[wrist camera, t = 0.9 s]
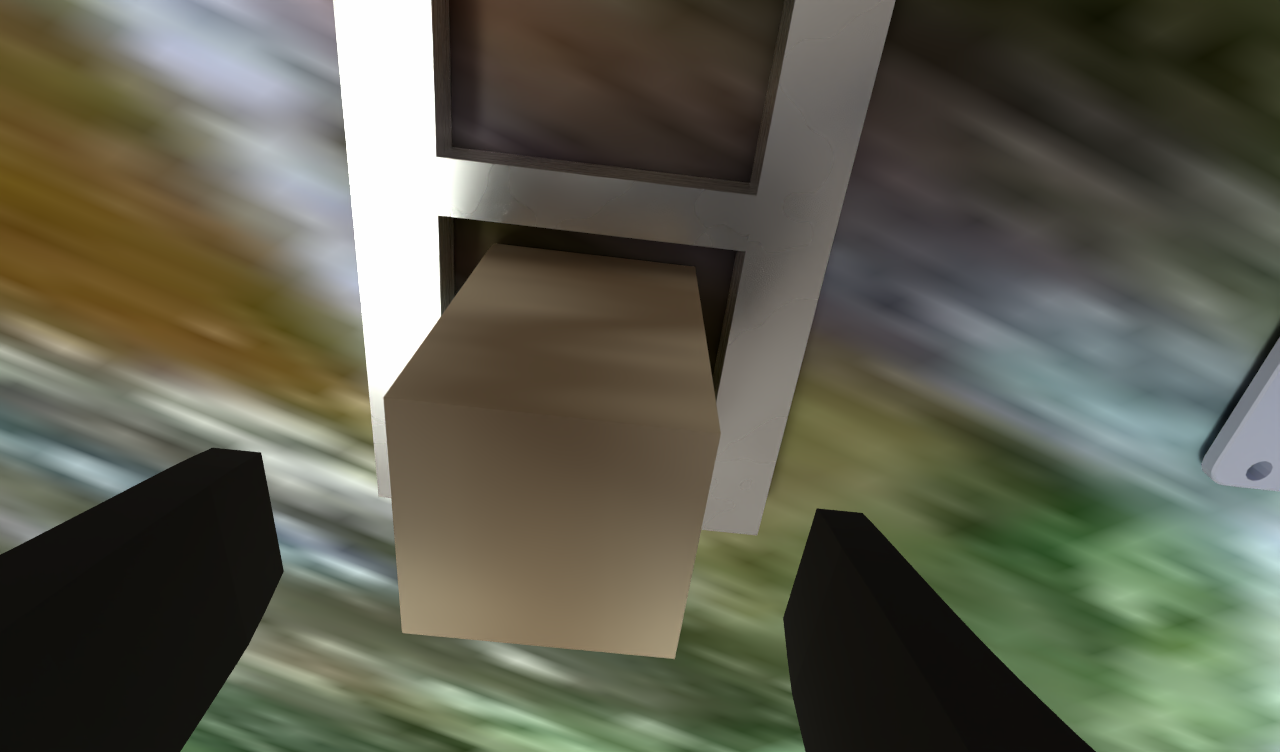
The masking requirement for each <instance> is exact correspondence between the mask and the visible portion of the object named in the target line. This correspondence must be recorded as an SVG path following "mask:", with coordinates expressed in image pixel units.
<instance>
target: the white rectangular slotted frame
mask: <svg viewBox="0 0 1280 752" xmlns="http://www.w3.org/2000/svg"><path fill="white" fill-rule="evenodd" d="M895 1H896V0H784V4H783V9H782V14H781V20H780V25H779V30H778V35H777V41H776V46H775V51H774V57H773V62H772V67H771V72H770V78H769V83H768V88H767V94H766V99H765V104H764V109H763V115H762V120H761V125H760V131H759V136H758V141H757V146H756V152H755V157H754V162H753V168H752V173H751V178H750V183H746V182H738V181H730V180H722V179H713V178H705V177H697V176H689V175H681V174H672V173H664V172H656V171H648V170H639V169H631V168H623V167H615V166H606V165H598V164H590V163H582V162H573V161H565V160H557V159H549V158H540V157H532V156H524V155H516V154H508V153H499V152H491V151H483V150H475V149H466V148H458V147H452V128H451V77H450V26H449V0H333V4H334V15H335V25H336V36H337V47H338V58H339V69H340V80H341V91H342V102H343V113H344V123H345V134H346V145H347V156H348V167H349V178H350V189H351V200H352V211H353V221H354V232H355V243H356V254H357V265H358V276H359V287H360V298H361V309H362V319H363V330H364V341H365V352H366V363H367V374H368V385H369V396H370V407H371V417H372V428H373V439H374V450H375V461H376V472H377V483H378V494H379V497H387V498H391V487H390V474H389V462H388V449H387V437H386V425H385V412H384V400H383V397H384V396H385V394H386V393H387V391H388V390H389V389H390V387H391V386H392V384H393V383H394V382H395V380H396V379H397V377H398V376H399V375H400V373H401V372H402V370H403V369H404V368H405V366H406V365H407V363H408V362H409V361H410V359H411V358H412V356H413V355H414V353H415V352H416V351H417V349H418V348H419V346H420V345H421V344H422V342H423V341H424V339H425V338H426V337H427V335H428V334H429V332H430V331H431V330H432V328H433V327H434V325H435V324H436V323H437V321H438V320H439V318H440V317H441V316H442V314H443V313H444V311H445V310H446V309H447V307H448V306H449V304H450V303H451V301H452V300H453V299H454V297H455V281H454V230H453V217H456V218H465V219H473V220H482V221H490V222H499V223H507V224H516V225H524V226H533V227H541V228H550V229H558V230H567V231H575V232H584V233H592V234H601V235H609V236H618V237H626V238H635V239H643V240H652V241H660V242H669V243H677V244H686V245H694V246H703V247H711V248H720V249H728V250H737V252H736V257H735V263H734V268H733V273H732V278H731V284H730V289H729V294H728V300H727V305H726V310H725V315H724V321H723V326H722V331H721V336H720V342H719V347H718V352H717V358H716V363H715V368H714V373H713V379H712V380H713V386H714V392H715V399H716V405H717V412H718V418H719V425H720V431H721V436H720V441H719V445H718V450H717V455H716V460H715V465H714V470H713V475H712V479H711V484H710V489H709V494H708V499H707V504H706V509H705V514H704V518H703V523H702V528H701V530H710V531H720V532H730V533H739V534H749V535H757V534H758V530H759V526H760V522H761V518H762V514H763V511H764V507H765V503H766V499H767V495H768V491H769V487H770V484H771V480H772V476H773V472H774V468H775V464H776V460H777V457H778V453H779V449H780V445H781V441H782V437H783V433H784V430H785V426H786V422H787V418H788V414H789V410H790V406H791V402H792V399H793V395H794V391H795V387H796V383H797V379H798V375H799V372H800V368H801V364H802V360H803V356H804V352H805V348H806V345H807V341H808V337H809V333H810V329H811V325H812V321H813V317H814V314H815V310H816V306H817V302H818V298H819V294H820V290H821V287H822V283H823V279H824V275H825V271H826V267H827V263H828V260H829V256H830V252H831V248H832V244H833V240H834V236H835V232H836V229H837V225H838V221H839V217H840V213H841V209H842V205H843V202H844V198H845V194H846V190H847V186H848V182H849V178H850V175H851V171H852V167H853V163H854V159H855V155H856V151H857V148H858V144H859V140H860V136H861V132H862V128H863V124H864V120H865V117H866V113H867V109H868V105H869V101H870V97H871V93H872V90H873V86H874V82H875V78H876V74H877V70H878V66H879V63H880V59H881V55H882V51H883V47H884V43H885V39H886V35H887V32H888V28H889V24H890V20H891V16H892V12H893V8H894V5H895Z"/></svg>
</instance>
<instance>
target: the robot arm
mask: <svg viewBox="0 0 1280 752" xmlns="http://www.w3.org/2000/svg"><path fill="white" fill-rule="evenodd" d="M1201 465H1202V471H1203V472H1204V473H1205V474H1206V475H1207V476H1208V477H1210V478H1211V479H1212V480H1213V481H1214V482H1216V483H1218V484H1221V485H1225V486H1234V487H1244V488H1253V489H1262V490H1271V491H1280V337H1279V339H1278V340H1277V342H1276V344H1275V345H1274V347H1273V348H1272V350H1271V352H1270V353H1269V355H1268V356H1267V358H1266V360H1265V361H1264V363H1263V364H1262V366H1261V367H1260V369H1259V371H1258V372H1257V374H1256V375H1255V377H1254V379H1253V380H1252V382H1251V383H1250V385H1249V386H1248V388H1247V390H1246V391H1245V393H1244V394H1243V396H1242V398H1241V399H1240V401H1239V402H1238V404H1237V405H1236V407H1235V409H1234V410H1233V412H1232V413H1231V415H1230V417H1229V418H1228V420H1227V421H1226V423H1225V425H1224V426H1223V428H1222V429H1221V431H1220V432H1219V434H1218V436H1217V437H1216V439H1215V440H1214V442H1213V444H1212V445H1211V447H1210V448H1209V450H1208V451H1207V453H1206V455H1205V456H1204V459H1203V461H1202V464H1201ZM1252 465H1253V466H1252ZM1251 466H1252V467H1251ZM283 572H284V570H283V565H282V560H281V555H280V549H279V544H278V539H277V534H276V528H275V523H274V518H273V512H272V507H271V502H270V497H269V491H268V486H267V481H266V476H265V470H264V465H263V460H262V455H261V453H260V452H250V451H240V450H230V449H220V448H211V449H209V450H207V451H204V452H202V453H200V454H197V455H195V456H193V457H191V458H189V459H187V460H185V461H183V462H180V463H178V464H176V465H174V466H172V467H170V468H168V469H166V470H164V471H162V472H160V473H159V474H157V475H155V476H153V477H151V478H149V479H147V480H145V481H143V482H141V483H139V484H137V485H135V486H133V487H131V488H129V489H127V490H126V491H124V492H122V493H120V494H118V495H116V496H114V497H112V498H110V499H108V500H106V501H104V502H102V503H101V504H99V505H97V506H95V507H93V508H91V509H89V510H87V511H85V512H83V513H81V514H79V515H77V516H75V517H73V518H71V519H70V520H68V521H66V522H64V523H62V524H60V525H58V526H56V527H54V528H52V529H50V530H48V531H46V532H44V533H42V534H40V535H38V536H36V537H35V538H33V539H31V540H29V541H27V542H25V543H23V544H21V545H19V546H17V547H15V548H13V549H11V550H9V551H7V552H5V553H3V554H1V555H0V752H180V751H181V750H182V748H183V747H184V745H185V743H186V742H187V740H188V739H189V737H190V736H191V734H192V733H193V731H194V730H195V728H196V727H197V725H198V723H199V722H200V720H201V719H202V717H203V716H204V714H205V713H206V711H207V710H208V708H209V706H210V705H211V703H212V702H213V700H214V699H215V697H216V696H217V694H218V692H219V691H220V689H221V688H222V686H223V685H224V683H225V681H226V680H227V678H228V677H229V675H230V674H231V672H232V670H233V669H234V667H235V666H236V664H237V663H238V661H239V659H240V658H241V656H242V654H243V653H244V651H245V650H246V648H247V646H248V645H249V643H250V641H251V639H252V637H253V635H254V633H255V631H256V629H257V627H258V625H259V623H260V621H261V619H262V617H263V615H264V613H265V611H266V609H267V606H268V604H269V602H270V600H271V598H272V596H273V593H274V591H275V589H276V587H277V585H278V583H279V580H280V578H281V576H282V574H283ZM783 620H784V630H785V639H786V648H787V658H788V666H789V673H790V681H791V689H792V695H793V700H794V704H795V708H796V713H797V717H798V721H799V726H800V730H801V734H802V738H803V743H804V747H805V751H806V752H1096V751H1094V750H1093V749H1092V748H1091V747H1090V746H1089V745H1088V744H1087V743H1086V742H1085V741H1083V740H1082V739H1081V738H1080V737H1079V736H1078V735H1077V734H1076V733H1075V732H1074V731H1073V730H1072V729H1070V728H1069V727H1068V726H1067V725H1066V724H1065V723H1064V722H1063V721H1062V720H1061V719H1060V718H1059V717H1058V716H1057V715H1056V714H1055V713H1054V712H1053V711H1052V710H1051V709H1050V708H1049V707H1048V706H1047V705H1045V704H1044V703H1043V702H1042V701H1041V700H1040V699H1039V698H1038V697H1037V696H1036V695H1035V694H1034V693H1033V692H1032V691H1031V690H1030V689H1029V688H1028V687H1027V686H1026V685H1025V684H1024V683H1023V682H1022V681H1020V679H1019V678H1018V677H1017V676H1016V675H1015V674H1014V673H1013V672H1012V671H1011V670H1010V669H1009V668H1008V667H1007V666H1006V665H1005V664H1004V663H1003V662H1002V661H1001V660H1000V659H999V658H998V657H997V656H996V655H995V654H994V653H993V652H992V651H991V650H990V649H989V648H988V647H987V646H986V645H985V644H984V643H983V642H982V641H981V640H980V639H979V638H978V637H977V636H976V635H975V634H974V633H973V632H972V631H971V629H970V628H969V627H968V626H967V625H966V624H965V623H964V622H963V621H962V620H961V619H960V618H959V617H958V616H957V615H956V614H955V613H954V612H953V610H952V609H951V608H950V607H949V606H948V605H947V604H946V603H945V602H944V601H943V600H942V599H941V598H940V596H939V595H938V594H937V593H936V592H935V591H934V590H933V589H932V588H931V587H930V586H929V585H928V583H927V582H926V581H925V580H924V579H923V578H922V577H921V576H920V575H919V574H918V572H917V571H916V570H915V569H914V568H913V567H912V566H911V565H910V564H909V563H908V562H907V560H906V559H905V558H904V557H903V556H902V555H901V554H900V553H899V552H898V551H897V549H896V548H895V547H894V546H893V545H892V544H891V543H890V542H889V541H888V540H887V538H886V537H885V536H884V535H883V534H882V533H881V532H880V531H879V530H878V529H877V528H876V527H875V526H874V524H873V523H872V522H871V521H870V520H869V519H868V518H867V517H866V516H865V515H864V514H863V513H857V512H847V511H837V510H827V509H817V510H816V513H815V516H814V519H813V523H812V526H811V529H810V533H809V536H808V539H807V542H806V546H805V549H804V552H803V555H802V559H801V562H800V565H799V568H798V572H797V575H796V578H795V581H794V585H793V588H792V591H791V594H790V598H789V601H788V604H787V608H786V611H785V614H784V617H783Z"/></svg>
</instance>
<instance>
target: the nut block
mask: <svg viewBox="0 0 1280 752" xmlns="http://www.w3.org/2000/svg"><path fill="white" fill-rule="evenodd" d="M383 400H384V412H385V425H386V437H387V449H388V462H389V474H390V487H391V499H392V511H393V524H394V536H395V549H396V561H397V573H398V586H399V598H400V611H401V623H402V633H409V634H419V635H430V636H440V637H451V638H461V639H472V640H482V641H493V642H503V643H514V644H524V645H535V646H545V647H556V648H566V649H577V650H587V651H598V652H608V653H619V654H629V655H640V656H651V657H661V658H672V659H675V655H676V650H677V645H678V640H679V635H680V630H681V625H682V621H683V616H684V611H685V606H686V601H687V596H688V591H689V587H690V582H691V577H692V572H693V567H694V562H695V557H696V552H697V548H698V543H699V538H700V533H701V528H702V523H703V518H704V514H705V509H706V504H707V499H708V494H709V489H710V484H711V479H712V475H713V470H714V465H715V460H716V455H717V450H718V445H719V441H720V436H721V431H720V425H719V418H718V412H717V405H716V399H715V392H714V386H713V380H712V373H711V367H710V360H709V354H708V347H707V341H706V335H705V328H704V322H703V315H702V309H701V302H700V296H699V290H698V283H697V277H696V270H695V267H693V266H684V265H676V264H667V263H659V262H650V261H641V260H633V259H624V258H616V257H607V256H599V255H590V254H581V253H573V252H564V251H556V250H547V249H539V248H530V247H521V246H513V245H504V244H496V243H493V244H492V245H491V247H490V248H489V249H488V251H487V252H486V254H485V255H484V257H483V258H482V259H481V261H480V262H479V264H478V265H477V266H476V268H475V269H474V271H473V272H472V273H471V275H470V276H469V278H468V279H467V280H466V282H465V283H464V285H463V286H462V287H461V289H460V290H459V292H458V293H457V294H456V296H455V297H454V299H453V300H452V301H451V303H450V304H449V306H448V307H447V309H446V310H445V311H444V313H443V314H442V316H441V317H440V318H439V320H438V321H437V323H436V324H435V325H434V327H433V328H432V330H431V331H430V332H429V334H428V335H427V337H426V338H425V339H424V341H423V342H422V344H421V345H420V346H419V348H418V349H417V351H416V352H415V353H414V355H413V356H412V358H411V359H410V361H409V362H408V363H407V365H406V366H405V368H404V369H403V370H402V372H401V373H400V375H399V376H398V377H397V379H396V380H395V382H394V383H393V384H392V386H391V387H390V389H389V390H388V391H387V393H386V394H385V396H384V397H383Z"/></svg>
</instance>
